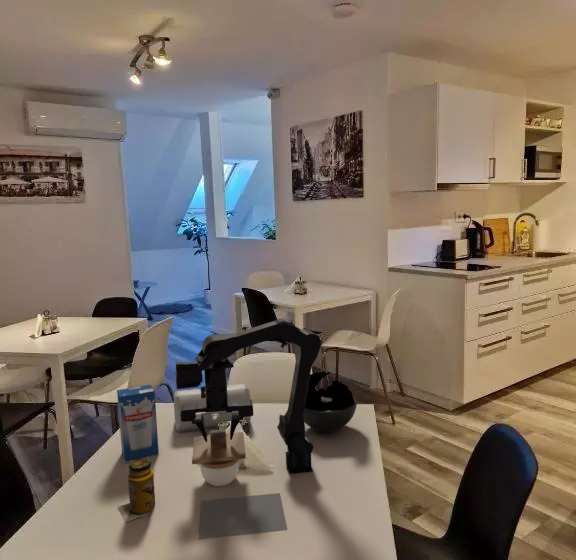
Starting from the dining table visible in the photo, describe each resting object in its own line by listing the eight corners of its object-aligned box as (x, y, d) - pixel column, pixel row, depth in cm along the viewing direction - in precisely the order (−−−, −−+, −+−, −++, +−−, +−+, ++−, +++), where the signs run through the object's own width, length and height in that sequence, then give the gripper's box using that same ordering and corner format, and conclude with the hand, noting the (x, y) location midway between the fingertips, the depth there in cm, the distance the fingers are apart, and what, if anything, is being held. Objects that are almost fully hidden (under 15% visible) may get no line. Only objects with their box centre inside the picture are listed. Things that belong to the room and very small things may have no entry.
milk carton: (155, 445, 160) (150, 384, 157) (159, 454, 154) (154, 390, 151) (121, 453, 155) (116, 390, 152) (124, 462, 150) (119, 397, 147)
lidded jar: (208, 497, 131) (206, 463, 130) (195, 477, 140) (193, 445, 139) (246, 485, 136) (245, 452, 134) (232, 467, 145) (230, 436, 144)
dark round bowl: (296, 416, 179) (295, 364, 176) (354, 416, 178) (353, 363, 175) (295, 443, 159) (293, 385, 156) (360, 443, 158) (359, 384, 155)
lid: (243, 435, 144) (242, 420, 143) (245, 458, 131) (244, 442, 130) (194, 440, 142) (193, 425, 142) (192, 464, 129) (190, 447, 129)
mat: (279, 494, 131) (279, 492, 131) (287, 531, 117) (287, 529, 116) (200, 502, 129) (200, 500, 129) (198, 541, 114) (198, 539, 114)
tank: (177, 442, 162) (174, 404, 160) (174, 421, 177) (172, 387, 175) (254, 431, 168) (253, 395, 166) (246, 412, 184) (244, 378, 182)
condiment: (161, 510, 126) (157, 464, 124) (126, 522, 122) (122, 475, 120) (151, 496, 132) (148, 452, 130) (117, 507, 128) (114, 462, 126)
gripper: (249, 371, 143) (252, 424, 145) (181, 376, 141) (185, 430, 143) (252, 385, 132) (254, 442, 134) (178, 391, 130) (182, 449, 132)
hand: (218, 440), depth 136 cm, fingers open, 6 cm apart
